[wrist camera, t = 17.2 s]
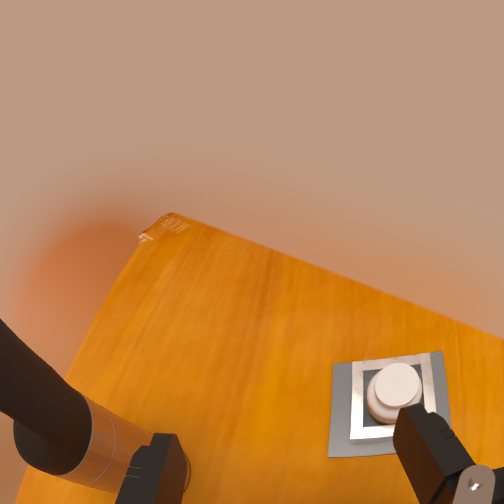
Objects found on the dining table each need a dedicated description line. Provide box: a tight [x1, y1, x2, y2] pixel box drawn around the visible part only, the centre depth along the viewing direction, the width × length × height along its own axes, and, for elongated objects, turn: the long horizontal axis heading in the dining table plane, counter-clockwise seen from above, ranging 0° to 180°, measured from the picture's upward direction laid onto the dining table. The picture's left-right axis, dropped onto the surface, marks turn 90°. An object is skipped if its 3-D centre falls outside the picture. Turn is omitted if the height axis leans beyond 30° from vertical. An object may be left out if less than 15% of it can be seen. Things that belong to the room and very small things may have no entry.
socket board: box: [328, 351, 451, 458], centre depth 28 cm, size 14×12×4 cm
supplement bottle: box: [367, 363, 422, 426], centre depth 25 cm, size 5×5×10 cm
